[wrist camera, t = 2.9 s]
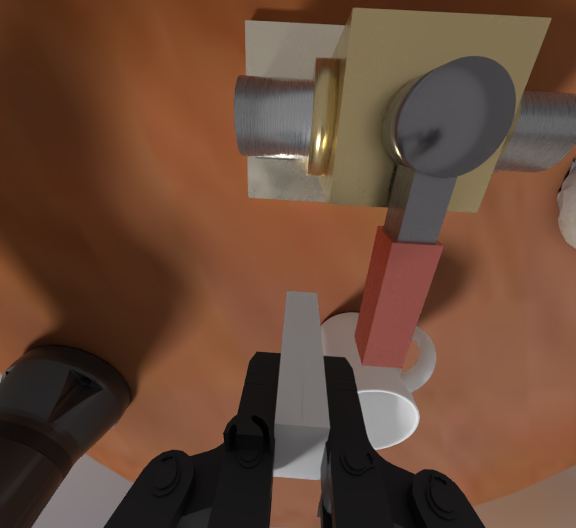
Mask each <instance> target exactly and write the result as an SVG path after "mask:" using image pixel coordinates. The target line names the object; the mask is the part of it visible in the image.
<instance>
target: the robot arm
mask: <svg viewBox="0 0 576 528" xmlns="http://www.w3.org/2000/svg"><path fill="white" fill-rule="evenodd" d="M129 403H130V391H129V388H128V386H127V384H126V382H125V381H124V379H123V378H122V377H121V375H120V374H119V373H118V372H117V371H116V370H115V369H113V368H112V367H111V366H110V365H108V364H107V363H106V362H104V361H102V360H101V359H99V358H97V357H95V356H93V355H91V354H89V353H86V352H84V351H81V350H78V349H74V348H70V347H64V346H41V347H37V348H34V349H32V350H30V351H28V352H26V353H25V354H24V355H23V356H21V357H20V358H19V359H18V360H17V361H15V362H14V363H13V364H12V365H11V366H10V367H9V368H8V369H7V370H6V371H5V373H4V374H3V376H2V379H1V383H0V528H32V526H33V525H34V523H35V522H36V520H37V519H38V517H39V515H40V514H41V512H42V511H43V509H44V508H45V507H46V505H47V504H48V502H49V501H50V499H51V497H52V496H53V495H54V493H55V492H56V490H57V489H58V487H59V486H60V484H61V483H62V481H63V480H64V478H65V477H66V476H67V474H68V473H69V471H70V469H71V468H72V467H73V465H74V464H75V463H76V461H77V460H78V459H79V458H80V457H82V456H83V455H84V454H85V453H86V452H87V451H88V450H89V449H90V448H91V447H92V446H93V445H94V444H95V443H96V442H97V441H98V440H99V439H100V438H101V437H102V436H103V435H104V434H105V433H106V432H107V431H108V430H109V429H111V428H112V427H114V426H115V425H116V424H117V422H118V421H119V420H120V418H121V417H122V415H123V414H124V412H125V410H126V409H127V407H128V405H129ZM223 434H224V443H223V444H221V445H220V446H218V447H217V448H215V449H212V450H210V451H207V452H203V453H200V454H196V455H193V456H189V455H187V454H186V453H185V452H183V451H179V450H170V451H167V452H163V453H161V454H160V455H158V456H157V457H155V458H154V459H152V460H151V461H150V463H149V464H148V465H147V466H146V467H145V468H144V469H143V471H142V472H141V474H140V475H139V477H138V478H137V480H136V481H135V482H134V484H133V485H132V487H131V488H130V490H129V491H128V493H127V494H126V496H125V497H124V498H123V500H122V502H121V503H120V504H119V506H118V507H117V509H116V510H115V512H114V513H113V514H112V516H111V517H110V519H109V520H108V522H107V524H106V525H105V526H104V528H269V526H270V514H271V501H272V485H273V476H275V477H287V478H300V479H312V480H320V475H321V489H322V493H321V498H320V502H319V507H318V515H317V517H321V528H485V526H484V525H483V523H482V522H481V520H480V519H479V517H478V515H477V514H476V512H475V511H474V509H473V507H472V506H471V504H470V503H469V501H468V500H467V498H466V496H465V495H464V493H463V492H462V491H461V490H460V488H459V487H458V486H457V485H456V483H455V482H453V481H452V480H451V479H449V478H448V477H447V476H446V475H444V474H442V473H440V472H438V471H435V470H428V469H424V470H422V471H420V472H418V473H417V474H416V475H415V474H413V473H411V472H408V471H406V470H404V469H402V468H399V467H397V466H395V465H393V464H391V463H389V462H388V461H386V460H385V459H383V458H382V457H381V456H380V455H379V454H378V453H377V452H376V451H375V449H374V448H373V447H372V445H371V443H370V441H369V439H368V436H367V432H366V428H365V423H364V418H363V414H362V409H361V404H360V400H359V395H358V391H357V386H356V383H355V377H354V372H353V368H352V366H351V365H350V364H349V362H348V361H347V359H346V358H345V357H334V356H323V348H322V338H321V328H320V317H319V307H318V296H317V293H308V292H293V291H287V295H286V306H285V317H284V327H283V338H282V349H281V353H269V352H256V353H255V355H254V356H253V357H252V359H251V360H250V361H249V365H248V370H247V375H246V379H245V383H244V387H243V392H242V396H241V401H240V405H239V409H238V414H237V415H236V416H234V417H233V418H232V419H231V420H230V422H229V423H228V424H227V426H226V428H225V430H224V433H223Z"/></svg>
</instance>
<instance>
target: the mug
mask: <svg viewBox="0 0 576 528" xmlns="http://www.w3.org/2000/svg"><path fill="white" fill-rule="evenodd" d="M358 317H359V313H355V312H348V313H342V314H338V315H335V316H333V317H331V318H329V319H328V320H326V321H325V322H324V323H323V324H322V325H321V326H320V328H321V338H322V348H323V356H334V357H345V358H346V359H347V361H348V362H349V364H350V365H351V366H352V368H353V372H354V377H355V383H356V386H357V391H358V395H359V400H360V404H361V409H362V414H363V418H364V423H365V428H366V432H367V436H368V439H369V441H370V443H371V445H372V447H373V448H374V449H375V450H376V449H382V448H387V447H390V446H393V445H395V444H398V443H400V442H402V441H403V440H405V439H407V438H408V437H409V436H410V435H411V434H412V433H413V432H414V431H415V430H416V428H417V426H418V424H419V417H420V415H419V410H418V408H417V406H416V403H415V401H414V399H413V396H412V394H411V393H412V392H413V391H415V390H417V389H418V388H420V387H421V386H422V385H423V384H424V383H425V382H426V381H427V380H428V379H429V378H430V376H431V375H432V372H433V370H434V368H435V364H436V351H435V347H434V344H433V342H432V340H431V338H430V337H429V336H428V334H427V333H426V332H425V331H424V330H422V329H421V328H419V327H418V326H416V328H415V331H414V334H413V337H412V339H414V341H415V342H416V343H417V345H418V348H419V358H418V360H417V362H416V364H415V365H414V366H413V367H412V368H411V369H410V370H408V371H406V372H404V373H402V371H401V368H392V367H377V366H362V364H361V360H360V356H359V353H358V349H357V345H356V342H355V338H354V335H355V331H356V326H357V321H358Z"/></svg>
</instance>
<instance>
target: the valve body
mask: <svg viewBox="0 0 576 528" xmlns="http://www.w3.org/2000/svg"><path fill="white" fill-rule="evenodd" d="M551 19H552V18H546V17H527V16H507V15H488V14H468V13H449V12H429V11H410V10H391V9H371V8H353V9H352V11H351V13H350V16H349V18H348V20H347V23H346V25H328V24H309V23H289V22H270V21H251V20H245V45H246V75H239V76H238V78H237V81H236V87H235V99H234V117H235V131H236V139H237V144H238V149H239V152H240V154H241V155H242V156H248V198H264V199H281V200H298V201H315V202H329V204H339V205H355V206H372V207H388V206H389V202H390V198H391V193H392V189H393V184H394V180H395V175H396V171H397V167H398V164H397V163H395V162H394V161H393V160H392V159H391V157H390V156H389V155H388V153H387V151H386V149H385V146H384V142H383V135H382V134H383V122H384V118H385V114H386V112H387V109H388V107H389V105H390V103H391V101H392V100H393V98H394V97H395V95H396V94H397V93H398V92H399V91H400V90H401V89H402V88H403V87H404V86H405V85H406V84H407V83H408V82H410V81H411V80H413V79H414V78H416V77H418V76H420V75H423V74H425V73H427V72H429V71H431V70H433V69H435V68H438V67H440V66H442V65H444V64H446V63H448V62H450V61H452V60H455V59H458V58H461V57H467V56H482V57H487V58H490V59H492V60H494V61H496V62H498V63H499V64H500V65H502V66H503V67H504V68H505V69H506V71H507V72H508V73H509V75H510V77H511V79H512V81H513V84H514V87H515V93H516V107H515V113H514V118H513V121H512V124H511V127H510V129H509V131H508V134H507V135H506V137H505V139H504V141H503V142H502V144H501V145H500V146H499V148H498V149H497V150H496V151H495V153H494V154H493V155H492V156H491V157H490V158H489V159H488V160H486V161H485V162H484V163H483V164H481V165H480V166H479V167H477V168H476V169H474V170H472V171H470V172H468V173H466V174H463V175H461V176H458V177H457V180H456V183H455V186H454V189H453V192H452V196H451V199H450V202H449V205H448V208H447V211H457V212H474V213H477V212H478V209H479V207H480V204H481V201H482V199H483V196H484V194H485V191H486V188H487V186H488V183H489V181H490V178H491V175H492V173H493V172H499V171H515V172H532V173H534V172H540V171H544V170H546V169H548V168H550V167H552V166H554V165H555V164H557V163H558V162H559V161H560V160H562V159H563V158H564V157H565V156H566V155H567V154H568V153H569V151H570V150H571V149H572V148H573V146H574V145H575V143H576V94H573V93H560V92H542V91H524V90H525V87H526V84H527V82H528V79H529V77H530V74H531V71H532V69H533V66H534V64H535V61H536V58H537V56H538V53H539V51H540V48H541V45H542V43H543V40H544V38H545V35H546V32H547V30H548V27H549V24H550V22H551Z"/></svg>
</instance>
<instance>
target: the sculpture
mask: <svg viewBox="0 0 576 528" xmlns="http://www.w3.org/2000/svg"><path fill="white" fill-rule="evenodd" d="M557 202H558V206H559V210H560V213H559V216H558V225H559V228H560V230H561V234H562V236H563V237H564V239H565V241H566V242H567V243H568V244H570V245H571V246H572V247H574V248H575V249H576V160H575V162H572V166H571V169H570V173H569V175H568V176H567V178H566V179H565V181H564V182H563V184H562V188H561V191H559V192H558V193H557Z"/></svg>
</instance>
